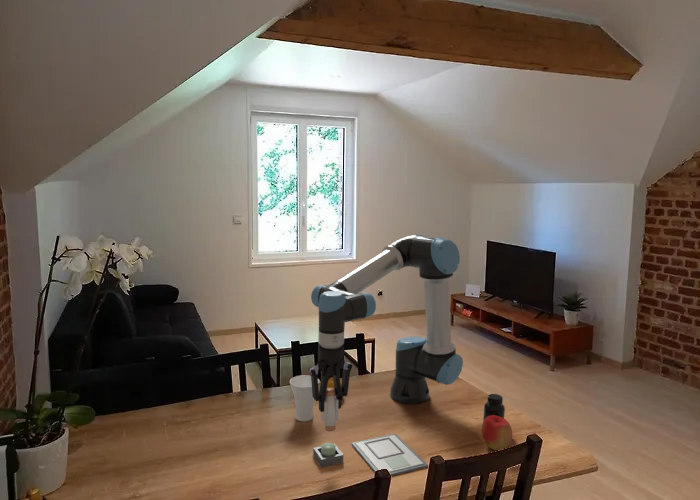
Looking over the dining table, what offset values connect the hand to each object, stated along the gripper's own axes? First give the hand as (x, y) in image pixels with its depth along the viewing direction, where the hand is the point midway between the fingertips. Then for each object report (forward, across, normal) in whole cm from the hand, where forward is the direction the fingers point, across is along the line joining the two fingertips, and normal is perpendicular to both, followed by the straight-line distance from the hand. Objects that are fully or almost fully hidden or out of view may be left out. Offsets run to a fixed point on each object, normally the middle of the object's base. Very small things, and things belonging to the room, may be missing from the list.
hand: (329, 419), depth 156 cm
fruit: (+13, +18, +40) cm, 45 cm away
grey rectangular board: (+13, +18, -5) cm, 22 cm away
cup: (+13, +2, +28) cm, 31 cm away
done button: (+13, 0, 0) cm, 13 cm away
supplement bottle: (+13, +59, -4) cm, 60 cm away
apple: (+13, +52, -14) cm, 55 cm away
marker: (+3, 0, -1) cm, 3 cm away
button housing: (+13, 0, 0) cm, 13 cm away
